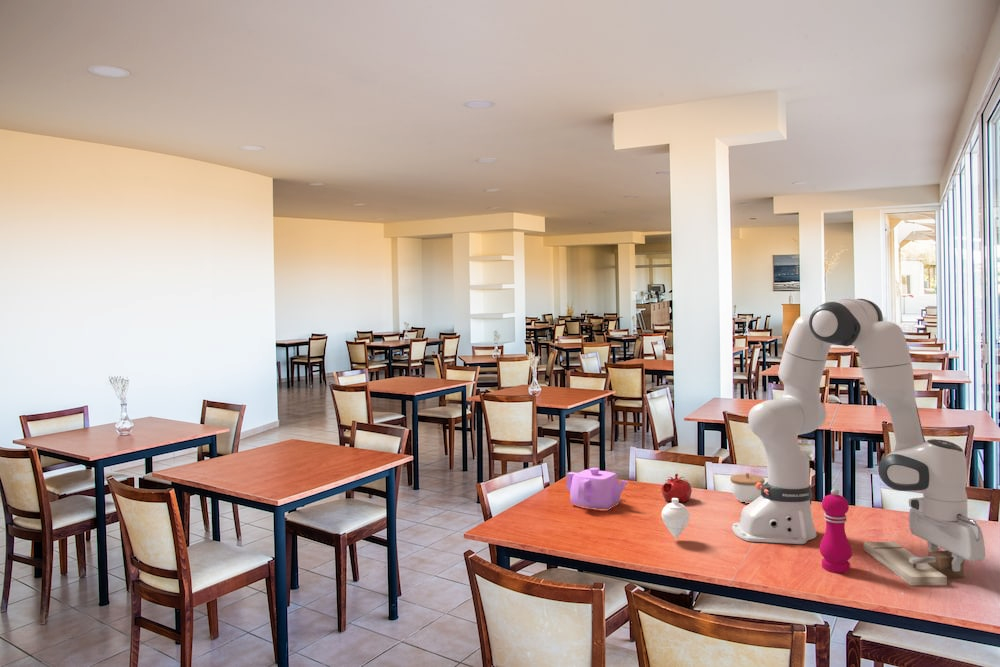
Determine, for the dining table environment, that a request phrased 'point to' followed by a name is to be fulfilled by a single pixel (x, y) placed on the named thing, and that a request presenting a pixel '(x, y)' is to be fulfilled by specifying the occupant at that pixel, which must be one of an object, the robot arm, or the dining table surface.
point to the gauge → (940, 563)
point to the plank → (904, 564)
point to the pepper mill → (835, 534)
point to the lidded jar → (746, 486)
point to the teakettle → (594, 488)
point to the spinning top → (675, 517)
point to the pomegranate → (676, 489)
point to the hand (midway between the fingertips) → (945, 565)
